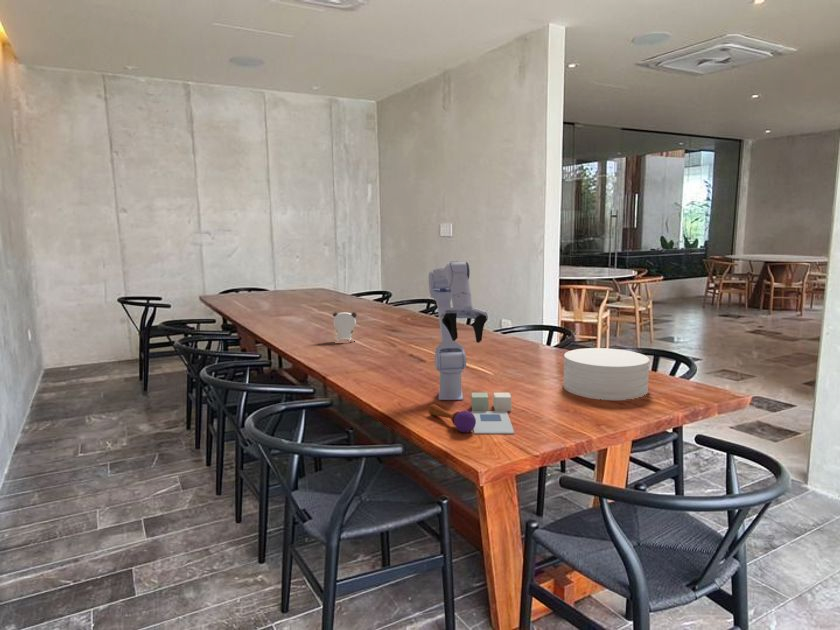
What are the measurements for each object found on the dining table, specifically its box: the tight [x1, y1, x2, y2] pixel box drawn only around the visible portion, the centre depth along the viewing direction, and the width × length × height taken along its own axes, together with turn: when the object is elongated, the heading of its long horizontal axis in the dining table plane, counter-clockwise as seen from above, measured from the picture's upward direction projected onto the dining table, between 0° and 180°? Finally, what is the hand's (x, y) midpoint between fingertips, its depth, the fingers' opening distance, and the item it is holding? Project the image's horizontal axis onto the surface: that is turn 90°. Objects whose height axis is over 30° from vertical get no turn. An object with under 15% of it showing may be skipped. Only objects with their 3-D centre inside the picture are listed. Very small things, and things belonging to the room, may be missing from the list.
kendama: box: [427, 403, 476, 433], centre depth 161 cm, size 6×6×20 cm
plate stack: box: [562, 347, 650, 401], centre depth 194 cm, size 28×28×12 cm
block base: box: [470, 392, 490, 411], centre depth 174 cm, size 5×5×4 cm
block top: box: [493, 392, 512, 412], centre depth 174 cm, size 5×5×4 cm
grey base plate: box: [470, 410, 515, 435], centre depth 162 cm, size 18×11×1 cm, turn 178°
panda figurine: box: [332, 311, 358, 341], centre depth 281 cm, size 12×11×15 cm
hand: (467, 340), depth 158 cm, fingers open, 7 cm apart
